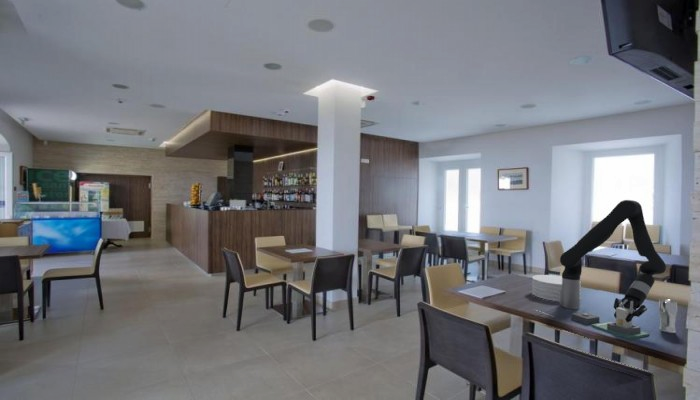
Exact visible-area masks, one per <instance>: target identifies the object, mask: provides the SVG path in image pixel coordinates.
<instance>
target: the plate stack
mask: <svg viewBox="0 0 700 400" xmlns="http://www.w3.org/2000/svg"><path fill="white" fill-rule="evenodd" d="M531 279H532V281H531V290H532V291H531V295H532V294H533V295H535V296H537V297H540V298H544V299H548V300H553V301H552V302H554V301H560V290H561V289H562V275H554V274H552V275H551V274H536V275H532V277H531ZM581 285H582V282H581V281H580V301H581V295H582V291H581V289H582V286H581ZM533 295H532V296H533ZM535 296H534V297H535ZM537 297H536V298H537ZM540 298H539V299H540ZM544 299H543V300H544ZM548 300H547V301H548Z"/></svg>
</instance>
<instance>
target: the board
mask: <svg viewBox="0 0 700 400" xmlns="http://www.w3.org/2000/svg"><path fill="white" fill-rule="evenodd" d="M590 326H591V327H592V328H594V329H598V330H601V331H603V332H606V333H609V334H612V335H615V336H618V337H621V338H624V339H627V340H634V339H640V338H645V337H649V336H650V333H649V332H648V333H647V332H645V331H641V329H642V328H641V326H638V325H635V324H632V328H627V329H625V328H622V327H619V326H616V321H604V322H599V323H594V324H590Z"/></svg>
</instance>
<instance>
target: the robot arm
mask: <svg viewBox="0 0 700 400" xmlns="http://www.w3.org/2000/svg"><path fill="white" fill-rule="evenodd" d="M626 220H628V221H629V223H630V226H631V230H632V239H633V242H634V245H635V248H636V250H637V253H638V255H639V256H640V257H645V258H646V261H643V262H642V263H641V264H640V265H639V268H638V272H637V276H636V277H635V279H634V281H633V282H632V283H631V285H629V287H628V289H627V291H626V292H625V294H624V296H623V298H622V299H619V298H617V297H615V299H614V302H613V303H614V304H613V308H614V310H615V312H614V313H613V317H614V318H615V319H616V308H619V307H624V308H628V309H630V314H628V316H627V317H626V319H625V320H626V321H627V322H629V321H631V320H632V321H633V318H634V317H637V318H640V316H641V315H643V314H644V313H645V312H646V311H648V308H647V307H646V305H645V304H644V302H645V300H646V299H647V297H648V295H649V293H650V292H651V289H652V288H653V286H654V284H655V278H654V277H653V276H654V275H659V274H660V275H661V274H664V273H666V270H667V265H666V262H665V261H664V260H663V259H662V257H661V256H660V255H659V253H658V252H657V251H656V248H655V247H654V246H655V245H654V244H653V242H652V239H651V237H650V234H649V232H648V229H647V225H646V223H645V222H646V221H645V217H644V212H643V207H642V205H641V204H640V203H639V202H638V201H637V200H633V199H632V200H631V199H624V200H621V201H619V202H618V203H617V205H616V206H615V207H613V209H612V210H611V211H610V212H609V213H608V214H607V215H606V216H605V217H604V218H603V219H601V220H600V221H599V222H598V223H596V224H595V225H594V226H593V227H592V228H591V229H589V230H588V231H587V233H586V234H584V235H583V236H582V237H581V238H580V239H579V240H578V241H577V242H576V243H575V244H574V245H573V246H572V247H569V249H567V250H566V251H565V252H563V253H562V254H561V256H560V258H559V262H560V264H561V265H562V266H563V267H564V268H563V271H562V273H561V276H562V289H561V290H560V302H559V305H560V306H561V307H563V308H566V309H569V310H570V309H571V310H579V309H581V307H580V305H581V304H580V303H581V300H580V298H581V297H580V294H581V293H580V290H581V289H580V286H581V285H580V282H581V276H582V270H583V269H582V267H583V260H582V258H583V257H585V255H587V254H588V253H590V252H592V251H593V250H596V249H597V248H599V247H600V246H601V245H603V244H604V243H605V242H606V241H608V240H609V239H610V238H611V236H613V234H614V232H615V231H616V229H617V228H618V226H620V224H622V223H623V222H625V221H626Z"/></svg>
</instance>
